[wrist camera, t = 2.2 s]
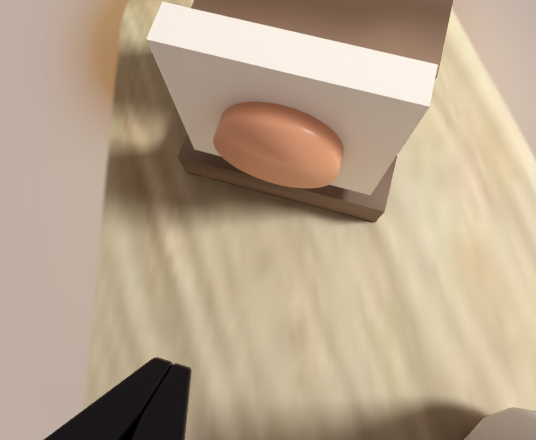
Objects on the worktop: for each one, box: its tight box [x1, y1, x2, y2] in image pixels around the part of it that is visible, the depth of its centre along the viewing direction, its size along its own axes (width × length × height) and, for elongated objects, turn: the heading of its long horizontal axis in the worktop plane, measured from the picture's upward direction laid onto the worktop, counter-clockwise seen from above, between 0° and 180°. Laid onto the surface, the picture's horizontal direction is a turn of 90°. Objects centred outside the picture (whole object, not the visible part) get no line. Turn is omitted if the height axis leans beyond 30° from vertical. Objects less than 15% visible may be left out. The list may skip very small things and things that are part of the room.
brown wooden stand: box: [179, 0, 453, 222], centre depth 21 cm, size 8×11×7 cm
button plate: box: [146, 2, 438, 195], centre depth 17 cm, size 2×9×8 cm, turn 74°
